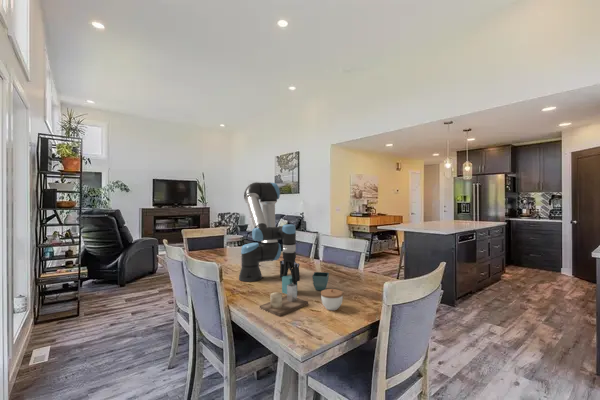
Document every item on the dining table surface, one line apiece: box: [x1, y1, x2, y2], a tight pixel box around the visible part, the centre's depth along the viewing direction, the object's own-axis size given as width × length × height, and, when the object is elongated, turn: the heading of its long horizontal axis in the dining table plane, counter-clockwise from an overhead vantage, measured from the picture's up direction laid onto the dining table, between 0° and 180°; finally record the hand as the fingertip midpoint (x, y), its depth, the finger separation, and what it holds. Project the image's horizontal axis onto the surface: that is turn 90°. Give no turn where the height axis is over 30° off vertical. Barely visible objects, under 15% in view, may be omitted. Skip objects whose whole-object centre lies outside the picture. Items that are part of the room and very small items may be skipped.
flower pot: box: [311, 271, 330, 291], centre depth 172 cm, size 9×9×9 cm
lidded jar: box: [320, 288, 344, 311], centre depth 143 cm, size 11×11×9 cm
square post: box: [286, 284, 298, 302], centre depth 150 cm, size 4×4×10 cm
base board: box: [259, 295, 309, 317], centre depth 146 cm, size 14×20×2 cm
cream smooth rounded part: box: [269, 292, 283, 309], centre depth 141 cm, size 6×6×8 cm
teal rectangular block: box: [281, 274, 293, 295], centre depth 167 cm, size 6×6×9 cm
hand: (289, 291), depth 167 cm, fingers closed on teal rectangular block, 6 cm apart
